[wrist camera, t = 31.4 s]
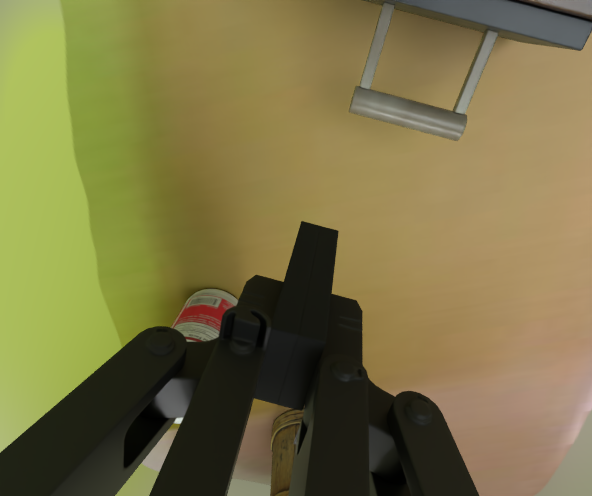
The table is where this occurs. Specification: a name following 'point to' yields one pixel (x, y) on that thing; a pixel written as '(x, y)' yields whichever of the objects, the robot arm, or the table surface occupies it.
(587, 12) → the cabinet
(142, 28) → the table surface
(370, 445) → the robot arm
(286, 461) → the wooden mug
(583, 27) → the drawer
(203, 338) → the pill bottle
